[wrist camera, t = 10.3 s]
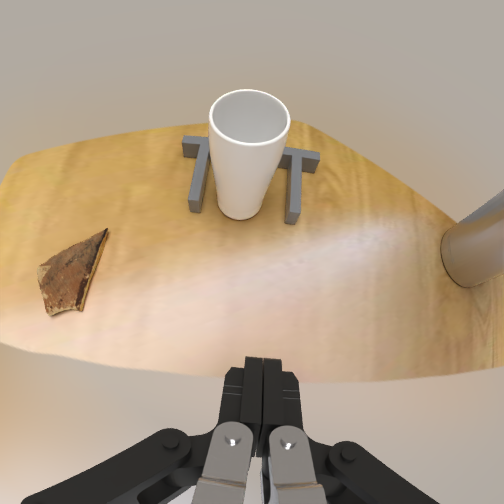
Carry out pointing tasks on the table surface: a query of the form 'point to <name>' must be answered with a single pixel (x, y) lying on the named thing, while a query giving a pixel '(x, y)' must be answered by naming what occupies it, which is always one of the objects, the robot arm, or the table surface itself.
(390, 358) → the table surface
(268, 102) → the white cup
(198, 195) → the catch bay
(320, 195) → the table surface
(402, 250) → the table surface
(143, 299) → the table surface
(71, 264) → the shard
